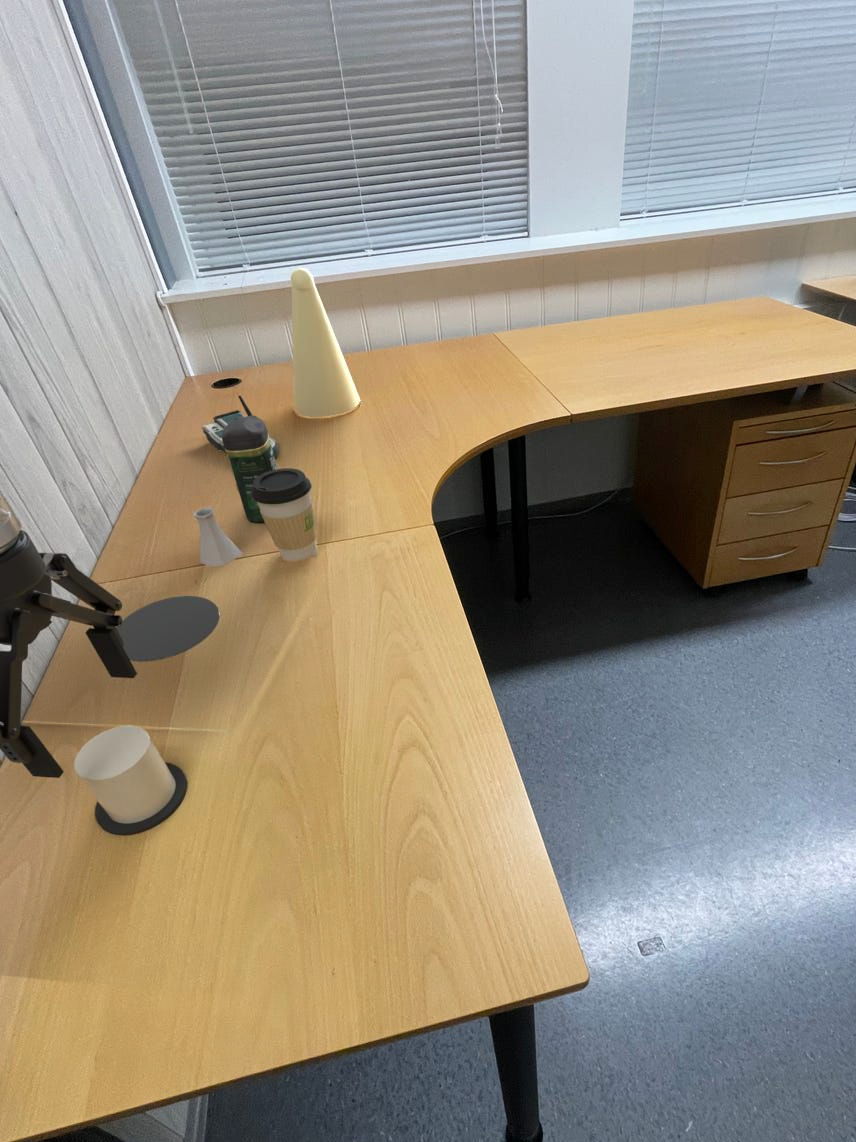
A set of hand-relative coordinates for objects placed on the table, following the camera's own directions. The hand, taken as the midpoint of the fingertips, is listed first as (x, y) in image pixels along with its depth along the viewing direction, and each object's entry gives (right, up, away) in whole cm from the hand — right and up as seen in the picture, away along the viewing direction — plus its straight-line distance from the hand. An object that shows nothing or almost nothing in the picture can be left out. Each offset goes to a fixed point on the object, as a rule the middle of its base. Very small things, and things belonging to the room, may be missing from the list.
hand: (89, 721), depth 65 cm
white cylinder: (+1, -10, +8) cm, 13 cm away
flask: (-6, +22, +48) cm, 53 cm away
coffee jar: (-2, +34, +61) cm, 70 cm away
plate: (-8, +10, +32) cm, 35 cm away
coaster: (+1, -10, +9) cm, 13 cm away
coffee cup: (+8, +23, +48) cm, 54 cm away
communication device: (-16, +55, +86) cm, 103 cm away
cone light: (-1, +71, +104) cm, 125 cm away
